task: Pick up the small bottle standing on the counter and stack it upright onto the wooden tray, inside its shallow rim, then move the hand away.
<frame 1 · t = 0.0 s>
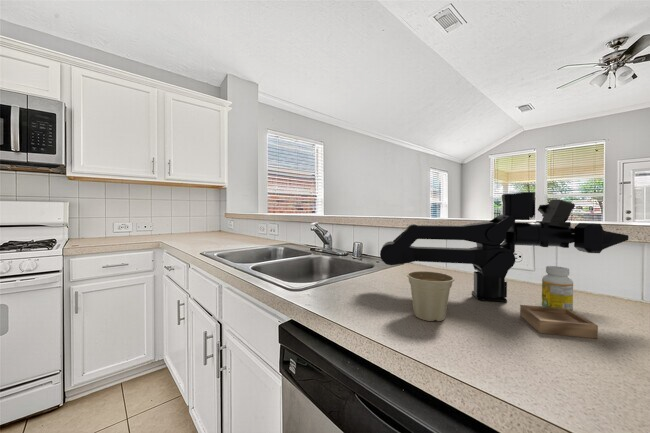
hand: (611, 235, 64), 17 cm above the counter, tool horizontal, fingers open, 9 cm apart
supplement bottle: (556, 311, 62), on the counter
flower pot: (429, 317, 58), on the counter
wooden tray: (555, 325, 53), on the counter
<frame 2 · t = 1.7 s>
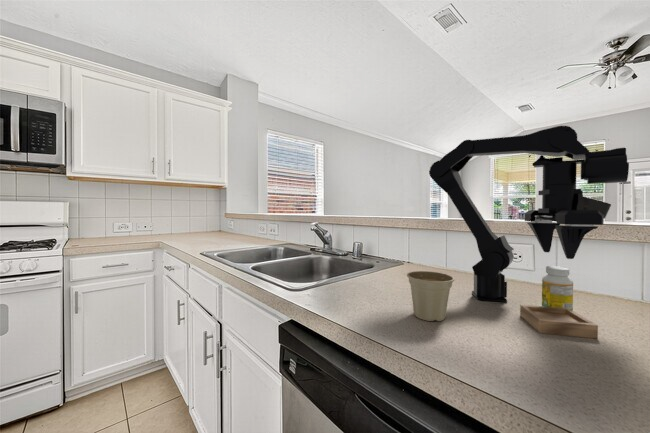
hand: (557, 255, 62), 12 cm above the counter, tool pointing down, fingers open, 9 cm apart
nothing on the counter moved.
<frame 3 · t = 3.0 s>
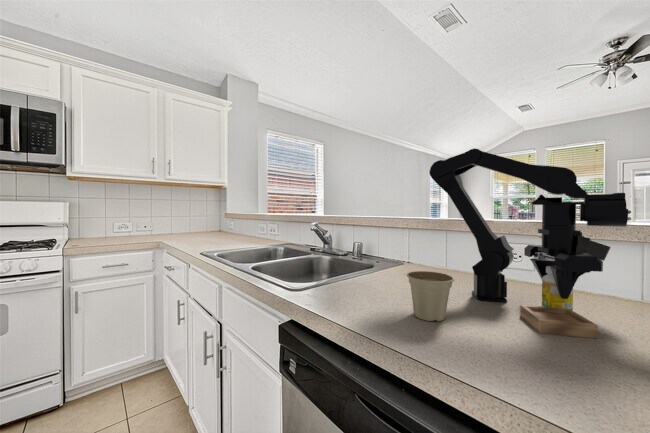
hand: (557, 294, 62), 4 cm above the counter, tool pointing down, fingers closed on supplement bottle, 5 cm apart
supplement bottle: (556, 311, 62), on the counter, touching gripper
everything else where it was.
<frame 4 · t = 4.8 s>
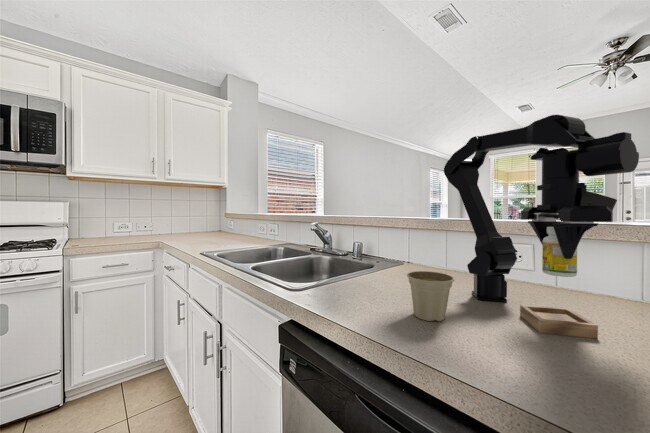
hand: (558, 256, 56), 13 cm above the counter, tool pointing down, fingers closed on supplement bottle, 5 cm apart
supplement bottle: (558, 275, 56), point 9 cm above the counter, touching gripper
everything else where it was.
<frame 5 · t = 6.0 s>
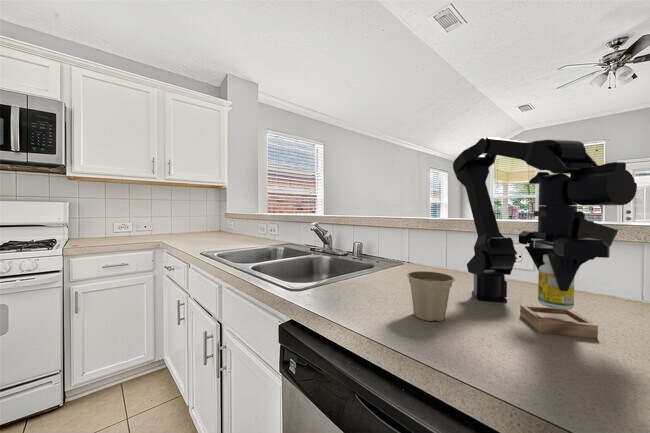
hand: (555, 286, 53), 8 cm above the counter, tool pointing down, fingers closed on supplement bottle, 5 cm apart
supplement bottle: (555, 306, 53), point 4 cm above the counter, touching gripper
everything else where it was.
when the fingers open (6 cm above the counter, at t = 6.7 s): supplement bottle drops 1 cm, resting on wooden tray.
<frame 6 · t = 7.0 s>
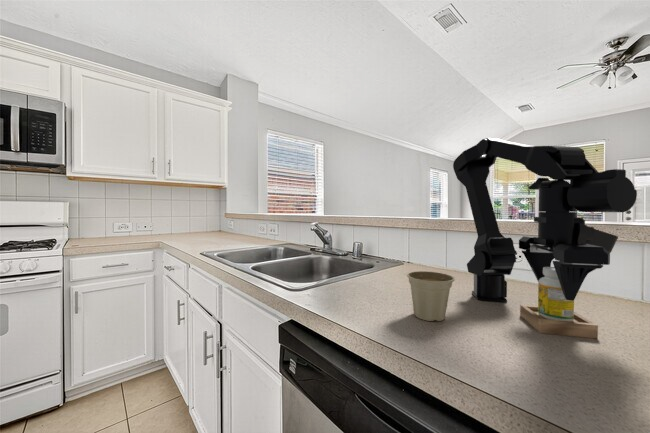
hand: (555, 292, 53), 6 cm above the counter, tool pointing down, fingers open, 9 cm apart
supplement bottle: (555, 318, 53), point 1 cm above the counter, touching wooden tray
everything else where it was.
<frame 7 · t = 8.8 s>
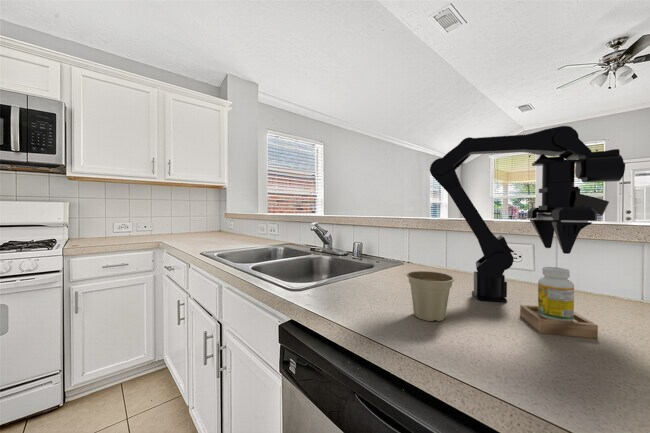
hand: (556, 250, 64), 13 cm above the counter, tool pointing down, fingers open, 9 cm apart
nothing on the counter moved.
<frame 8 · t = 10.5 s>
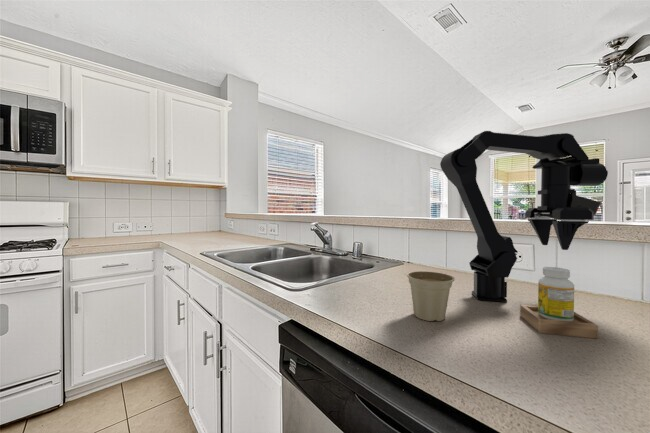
hand: (554, 247, 70), 13 cm above the counter, tool pointing down, fingers open, 9 cm apart
nothing on the counter moved.
at the end: supplement bottle 0.1 cm from the wooden tray (horizontally); supplement bottle touching wooden tray; supplement bottle tilted 0° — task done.
